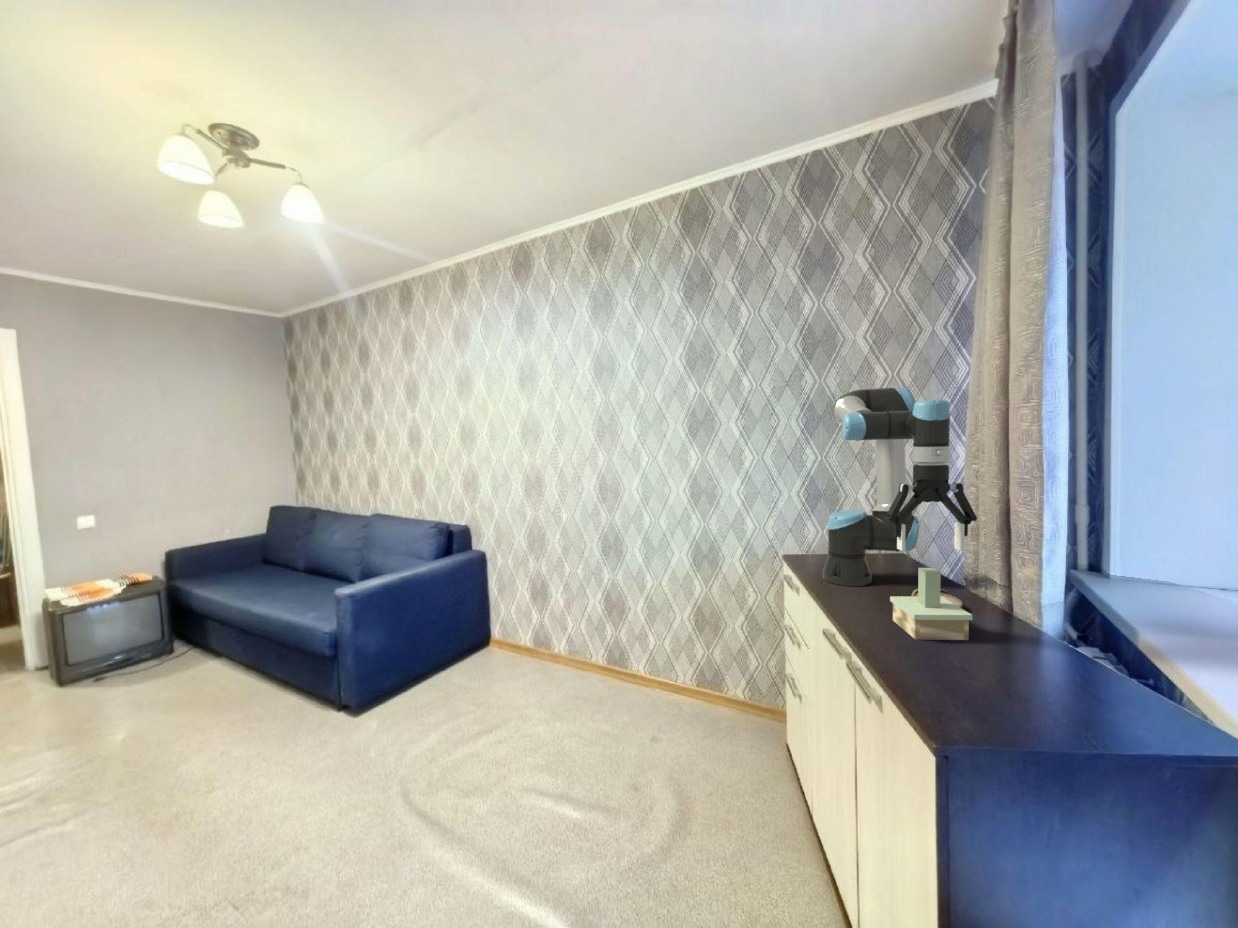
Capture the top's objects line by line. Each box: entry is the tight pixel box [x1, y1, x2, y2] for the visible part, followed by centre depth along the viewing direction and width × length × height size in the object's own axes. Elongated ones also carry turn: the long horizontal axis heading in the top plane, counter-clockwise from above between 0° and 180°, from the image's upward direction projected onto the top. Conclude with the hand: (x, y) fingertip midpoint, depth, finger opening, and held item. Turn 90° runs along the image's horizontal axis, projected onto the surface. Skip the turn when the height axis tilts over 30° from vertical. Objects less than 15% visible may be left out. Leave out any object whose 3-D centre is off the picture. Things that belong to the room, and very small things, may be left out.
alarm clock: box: [911, 588, 963, 609], centre depth 141 cm, size 11×5×15 cm
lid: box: [889, 567, 973, 621], centre depth 124 cm, size 13×13×10 cm
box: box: [892, 603, 970, 641], centre depth 125 cm, size 12×12×6 cm
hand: (930, 549), depth 123 cm, fingers open, 13 cm apart
